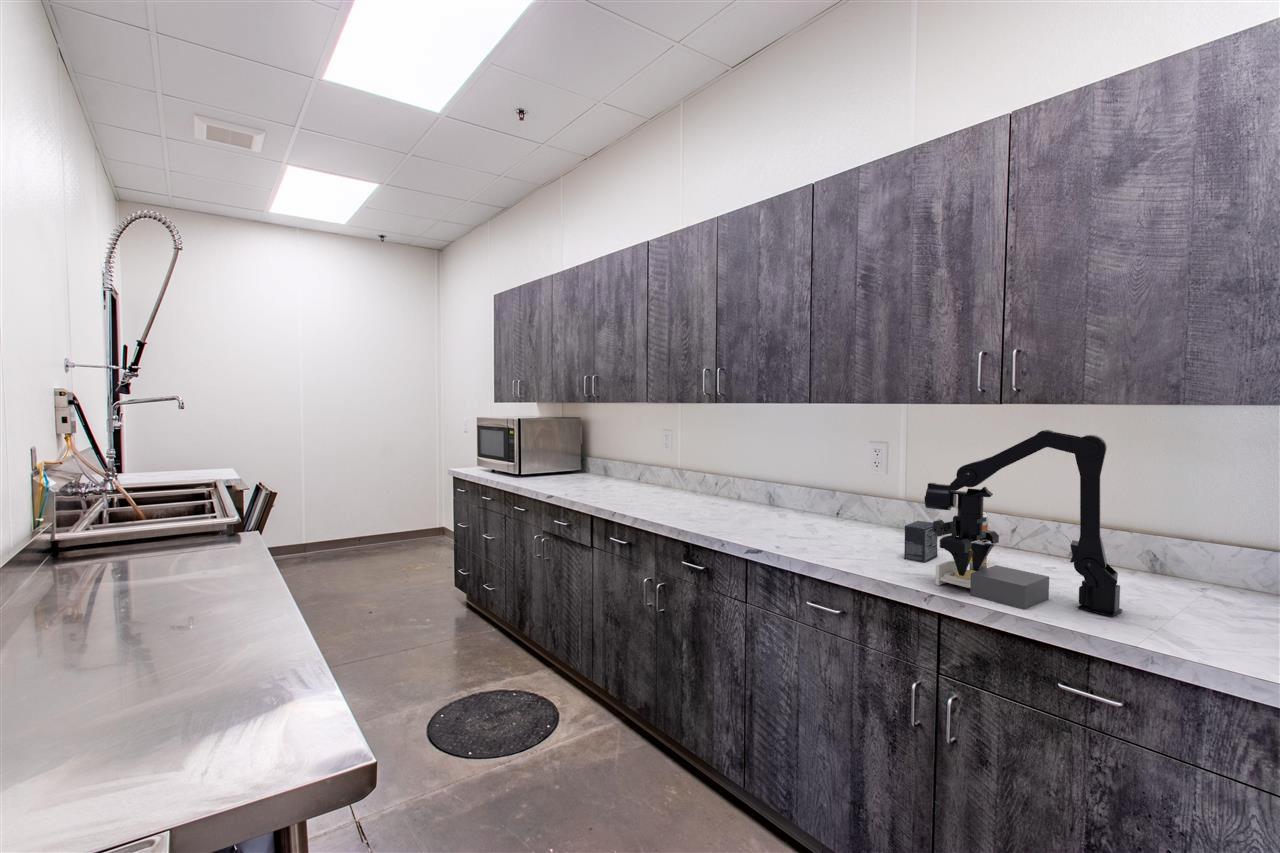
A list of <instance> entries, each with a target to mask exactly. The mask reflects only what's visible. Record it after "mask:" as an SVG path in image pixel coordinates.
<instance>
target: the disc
mask: <svg viewBox="0 0 1280 853" xmlns="http://www.w3.org/2000/svg"><path fill="white" fill-rule="evenodd" d="M974 572H977V571H973V570H970V569H967V570H966V572H965V575H964V576H960V575H959V573H958V570H956V571H955V577H959V578H963V579H967V580H971V573H974Z"/></svg>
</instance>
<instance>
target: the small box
mask: <svg viewBox="0 0 1280 853" xmlns="http://www.w3.org/2000/svg"><path fill="white" fill-rule="evenodd" d="M932 525H933V522H931V521H922V520H916V521H914V522H911V523H908V524H906V525H904V554H903V555H904V560H906V559H907V560H908V561H912V562H918V563H924V564H926V563H928V562H930V561H931V560H933V559H935V558H937V557H938V537H937V534H936V533H935V532H933V531H932V528H933V526H932Z"/></svg>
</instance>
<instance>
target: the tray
mask: <svg viewBox="0 0 1280 853" xmlns="http://www.w3.org/2000/svg"><path fill="white" fill-rule="evenodd" d="M956 570H957V567H956V564H955V561H954V559H951V560H948V561H944V562H941V563H937V564H935V585H936V586H942V585H944V584H951V585H956V586H960V587H964V588H968V589H970V584H971V580H967V579H963V578H959V577H955V571H956Z"/></svg>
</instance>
